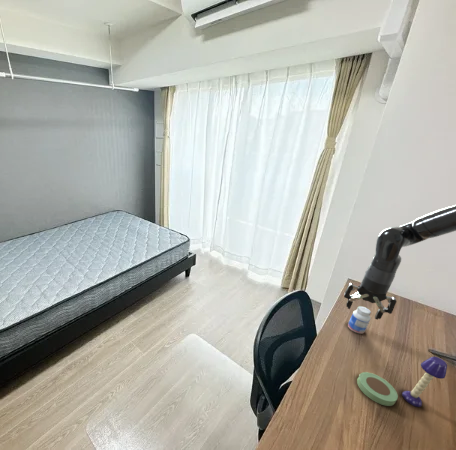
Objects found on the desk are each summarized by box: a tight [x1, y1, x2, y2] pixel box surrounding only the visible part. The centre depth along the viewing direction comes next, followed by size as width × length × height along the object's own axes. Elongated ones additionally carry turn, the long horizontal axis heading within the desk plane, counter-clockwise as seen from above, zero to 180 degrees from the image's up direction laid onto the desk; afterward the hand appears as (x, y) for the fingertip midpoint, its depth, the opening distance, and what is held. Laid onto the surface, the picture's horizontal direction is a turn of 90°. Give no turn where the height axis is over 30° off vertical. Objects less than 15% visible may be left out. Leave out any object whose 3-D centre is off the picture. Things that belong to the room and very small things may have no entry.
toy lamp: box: [401, 356, 448, 408], centre depth 69 cm, size 5×5×17 cm
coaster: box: [356, 371, 399, 407], centre depth 74 cm, size 9×9×2 cm
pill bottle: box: [347, 305, 372, 334], centre depth 96 cm, size 6×5×10 cm
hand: (362, 312), depth 95 cm, fingers open, 8 cm apart
